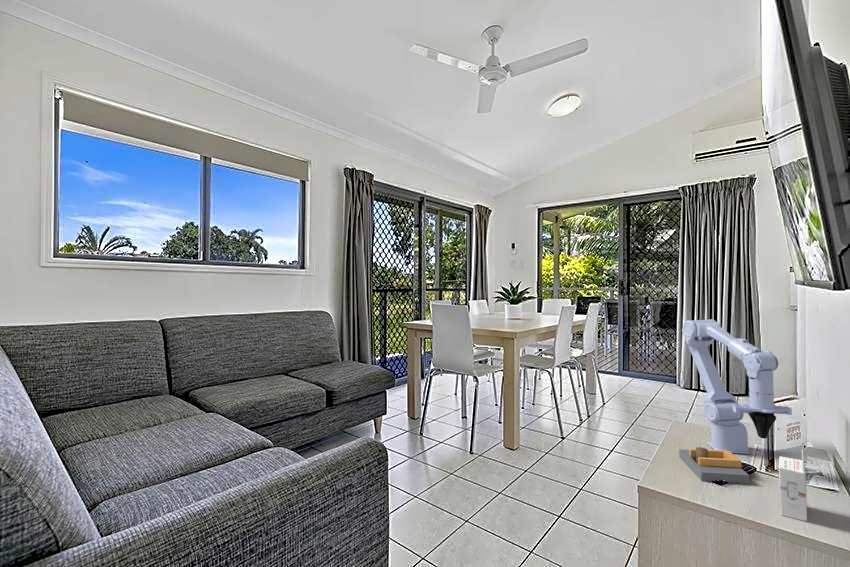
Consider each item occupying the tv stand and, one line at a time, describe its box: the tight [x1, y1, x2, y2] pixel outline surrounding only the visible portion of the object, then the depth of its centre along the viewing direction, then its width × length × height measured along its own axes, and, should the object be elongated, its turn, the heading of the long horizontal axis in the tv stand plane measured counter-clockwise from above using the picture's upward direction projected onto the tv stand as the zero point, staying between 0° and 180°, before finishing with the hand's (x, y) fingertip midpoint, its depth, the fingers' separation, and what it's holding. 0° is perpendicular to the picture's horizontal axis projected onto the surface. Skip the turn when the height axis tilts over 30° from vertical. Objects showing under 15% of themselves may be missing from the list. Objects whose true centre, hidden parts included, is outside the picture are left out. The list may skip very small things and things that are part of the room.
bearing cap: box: [688, 448, 742, 469], centre depth 124 cm, size 11×7×2 cm, turn 78°
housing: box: [678, 449, 750, 485], centre depth 124 cm, size 12×16×2 cm
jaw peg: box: [695, 446, 709, 464], centre depth 125 cm, size 3×3×6 cm
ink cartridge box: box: [778, 449, 808, 522], centre depth 102 cm, size 9×5×15 cm, turn 139°
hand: (762, 437), depth 124 cm, fingers closed
